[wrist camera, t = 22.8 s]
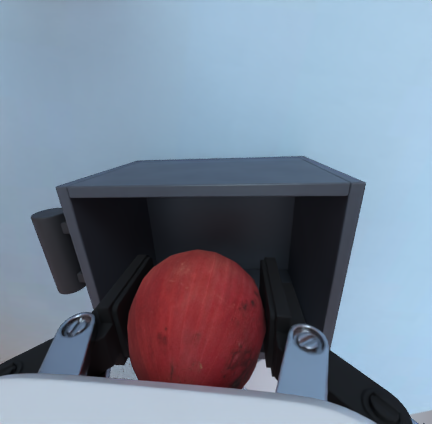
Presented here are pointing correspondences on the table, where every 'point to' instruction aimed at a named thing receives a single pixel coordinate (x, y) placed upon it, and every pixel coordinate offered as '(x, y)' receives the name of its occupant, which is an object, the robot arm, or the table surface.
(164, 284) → the onion
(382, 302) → the table surface
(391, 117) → the table surface
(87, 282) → the grey drawer with handle
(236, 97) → the table surface
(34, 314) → the table surface
